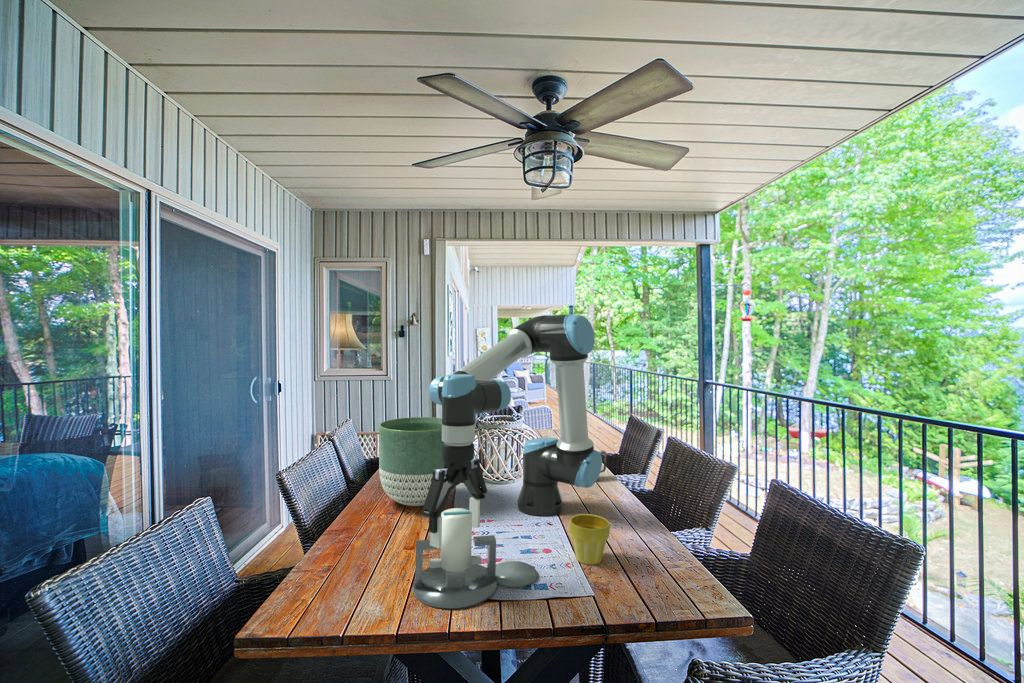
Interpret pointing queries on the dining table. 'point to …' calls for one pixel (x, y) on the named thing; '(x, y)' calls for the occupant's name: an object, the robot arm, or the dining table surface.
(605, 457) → the mug
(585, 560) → the plant pot
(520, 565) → the coaster
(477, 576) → the grey hook stand
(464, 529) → the white teal-striped cylinder
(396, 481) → the planter
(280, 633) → the dining table surface
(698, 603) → the dining table surface
